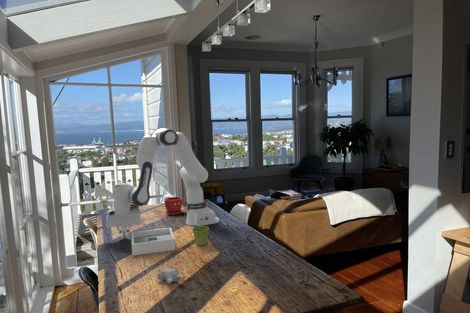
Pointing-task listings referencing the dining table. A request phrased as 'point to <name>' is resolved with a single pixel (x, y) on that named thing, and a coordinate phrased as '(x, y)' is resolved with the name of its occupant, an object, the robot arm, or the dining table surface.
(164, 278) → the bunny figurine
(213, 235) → the dining table surface
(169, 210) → the plant pot
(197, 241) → the plant pot
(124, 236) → the peg
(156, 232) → the box
